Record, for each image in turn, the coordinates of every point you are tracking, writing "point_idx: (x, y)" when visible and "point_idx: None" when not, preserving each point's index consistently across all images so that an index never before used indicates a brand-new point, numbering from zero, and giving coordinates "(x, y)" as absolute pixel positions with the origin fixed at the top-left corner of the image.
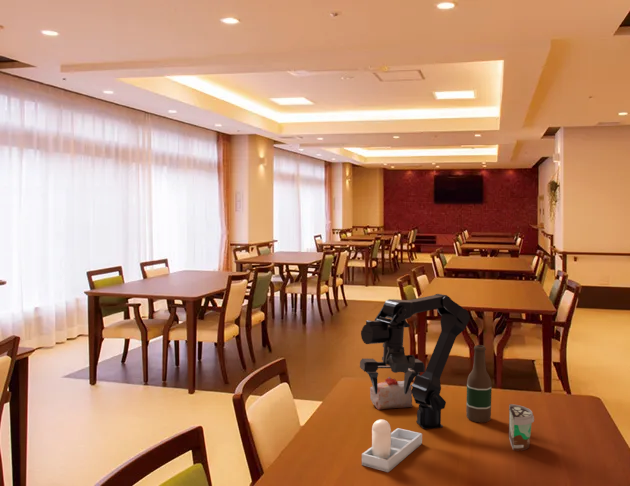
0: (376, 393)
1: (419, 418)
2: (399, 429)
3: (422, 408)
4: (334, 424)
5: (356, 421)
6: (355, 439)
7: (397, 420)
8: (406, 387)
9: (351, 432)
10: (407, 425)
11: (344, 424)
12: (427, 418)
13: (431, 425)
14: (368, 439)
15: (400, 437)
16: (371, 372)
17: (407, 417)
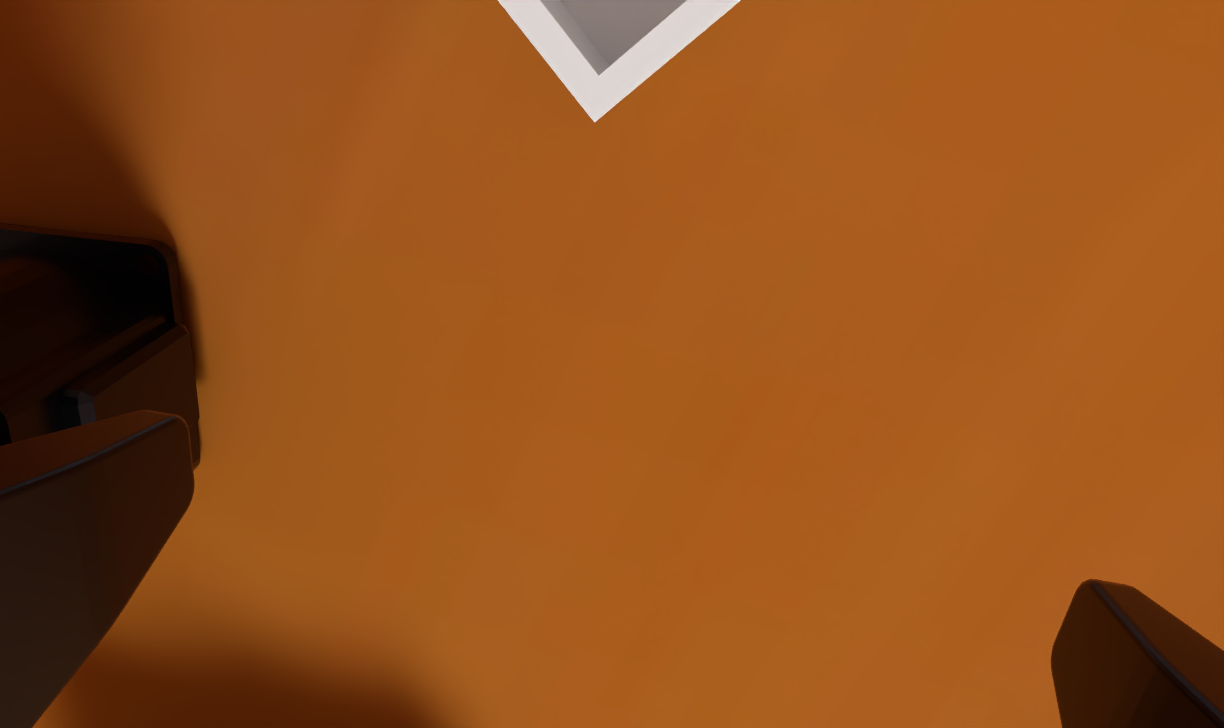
0: (1121, 584)
1: (148, 380)
2: (588, 64)
3: (9, 414)
4: None
5: (846, 688)
6: (1170, 229)
7: (392, 575)
8: (10, 488)
9: (1081, 444)
10: (332, 421)
11: (1020, 662)
12: (40, 313)
13: (51, 258)
14: (1007, 175)
15: (602, 12)
16: None
17: (254, 609)
